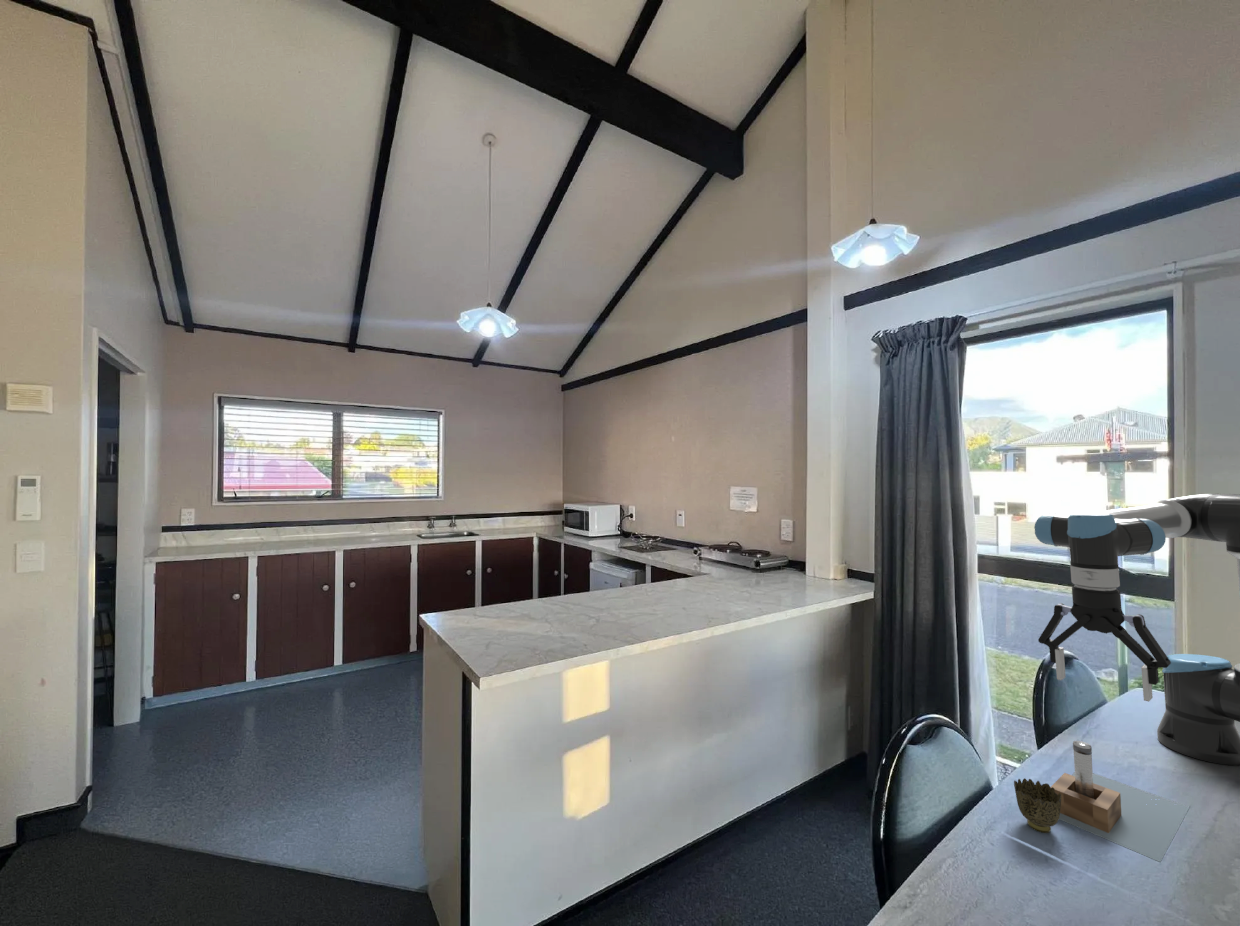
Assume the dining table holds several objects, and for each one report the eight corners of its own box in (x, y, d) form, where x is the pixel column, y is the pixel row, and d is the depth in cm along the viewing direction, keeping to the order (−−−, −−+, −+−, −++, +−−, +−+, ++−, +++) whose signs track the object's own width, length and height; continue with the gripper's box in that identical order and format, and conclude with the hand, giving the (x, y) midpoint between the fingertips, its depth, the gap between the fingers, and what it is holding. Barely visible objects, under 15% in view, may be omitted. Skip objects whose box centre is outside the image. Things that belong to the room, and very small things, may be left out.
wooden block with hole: (1065, 793, 113) (1064, 772, 113) (1121, 815, 106) (1120, 792, 106) (1051, 809, 108) (1050, 787, 108) (1108, 833, 101) (1107, 809, 101)
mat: (1078, 769, 122) (1078, 767, 122) (1189, 808, 107) (1189, 806, 107) (1038, 812, 108) (1037, 810, 108) (1160, 864, 93) (1160, 861, 93)
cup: (1072, 844, 98) (1070, 802, 99) (1029, 839, 100) (1027, 798, 100) (1048, 818, 106) (1046, 779, 106) (1008, 814, 107) (1006, 776, 107)
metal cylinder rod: (1078, 805, 109) (1075, 739, 109) (1097, 812, 106) (1093, 744, 107) (1074, 811, 107) (1070, 743, 107) (1093, 818, 105) (1089, 749, 105)
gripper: (1017, 580, 116) (1023, 674, 116) (1177, 600, 95) (1186, 715, 95) (1030, 575, 120) (1036, 666, 120) (1186, 593, 100) (1194, 703, 99)
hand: (1102, 688), depth 107 cm, fingers open, 13 cm apart
